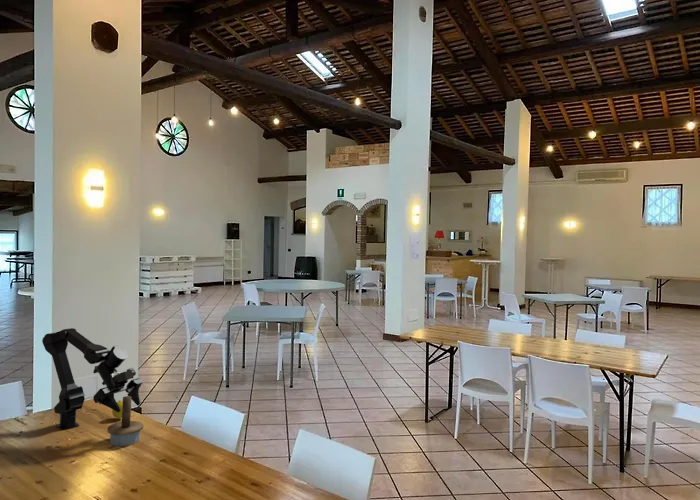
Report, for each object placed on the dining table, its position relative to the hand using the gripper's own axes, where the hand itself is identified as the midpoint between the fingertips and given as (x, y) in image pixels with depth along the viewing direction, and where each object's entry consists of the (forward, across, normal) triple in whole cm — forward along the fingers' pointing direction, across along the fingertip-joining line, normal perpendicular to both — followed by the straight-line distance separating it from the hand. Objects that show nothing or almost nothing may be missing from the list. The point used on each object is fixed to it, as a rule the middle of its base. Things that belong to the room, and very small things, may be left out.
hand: (129, 408), depth 179 cm
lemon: (-6, +16, +24) cm, 30 cm away
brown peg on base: (+5, 0, +7) cm, 8 cm away
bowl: (+8, 0, +10) cm, 13 cm away
